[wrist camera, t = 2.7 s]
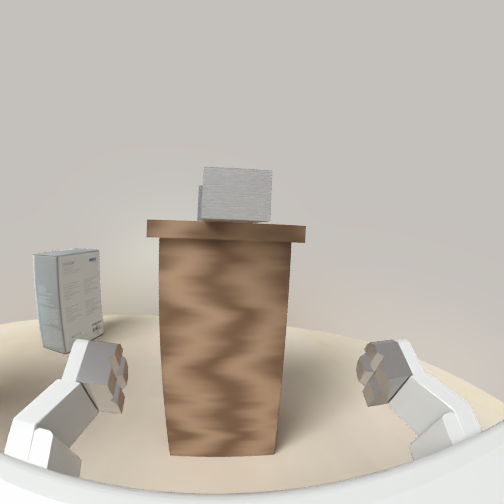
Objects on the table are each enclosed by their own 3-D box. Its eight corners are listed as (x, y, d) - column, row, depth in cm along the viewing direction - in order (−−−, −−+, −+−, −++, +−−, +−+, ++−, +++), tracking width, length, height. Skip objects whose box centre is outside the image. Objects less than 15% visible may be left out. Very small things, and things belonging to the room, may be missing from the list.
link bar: (183, 217, 18) (188, 143, 17) (198, 223, 39) (199, 188, 39) (286, 222, 18) (289, 149, 18) (245, 224, 40) (246, 190, 40)
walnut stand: (160, 459, 28) (147, 219, 26) (170, 403, 41) (167, 222, 39) (284, 458, 30) (305, 226, 28) (265, 403, 43) (275, 226, 41)
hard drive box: (80, 328, 67) (76, 248, 66) (104, 333, 66) (101, 249, 65) (40, 347, 52) (32, 252, 50) (65, 355, 51) (57, 254, 49)
